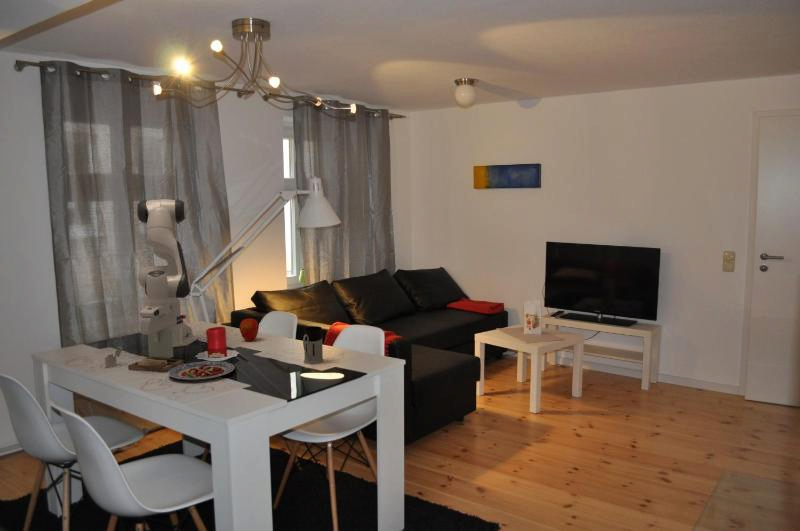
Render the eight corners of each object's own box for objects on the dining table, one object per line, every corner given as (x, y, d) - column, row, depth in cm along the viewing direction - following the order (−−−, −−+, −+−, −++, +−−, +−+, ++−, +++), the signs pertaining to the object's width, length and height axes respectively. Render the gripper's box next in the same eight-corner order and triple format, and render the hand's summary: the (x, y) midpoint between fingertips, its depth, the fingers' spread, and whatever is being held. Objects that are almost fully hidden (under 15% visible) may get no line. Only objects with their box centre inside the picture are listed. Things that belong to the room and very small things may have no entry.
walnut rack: (147, 361, 275) (147, 357, 275) (183, 364, 270) (183, 360, 270) (128, 369, 263) (128, 365, 263) (165, 372, 258) (165, 367, 258)
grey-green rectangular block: (153, 354, 273) (152, 328, 271) (173, 356, 270) (172, 329, 269) (148, 356, 270) (147, 329, 268) (169, 358, 267) (167, 330, 266)
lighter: (106, 367, 266) (105, 349, 265) (105, 367, 267) (104, 348, 266) (123, 364, 271) (122, 346, 270) (121, 363, 272) (120, 345, 272)
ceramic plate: (211, 362, 274) (210, 356, 274) (247, 373, 258) (247, 366, 257) (156, 376, 254) (155, 369, 254) (191, 388, 238) (191, 380, 238)
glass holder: (326, 359, 277) (326, 326, 275) (314, 368, 263) (313, 333, 262) (308, 358, 279) (307, 325, 277) (294, 367, 266) (294, 332, 264)
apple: (236, 341, 312) (235, 318, 311) (248, 337, 320) (247, 314, 319) (251, 343, 308) (250, 319, 307) (262, 339, 316) (262, 316, 315)
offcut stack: (144, 367, 268) (143, 358, 268) (168, 368, 266) (168, 360, 265) (136, 370, 263) (136, 361, 263) (161, 371, 261) (161, 363, 260)
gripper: (167, 304, 278) (168, 334, 280) (136, 313, 259) (138, 345, 260) (179, 304, 277) (181, 335, 278) (149, 313, 257) (151, 346, 259)
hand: (160, 340), depth 269 cm, fingers closed on grey-green rectangular block, 3 cm apart
